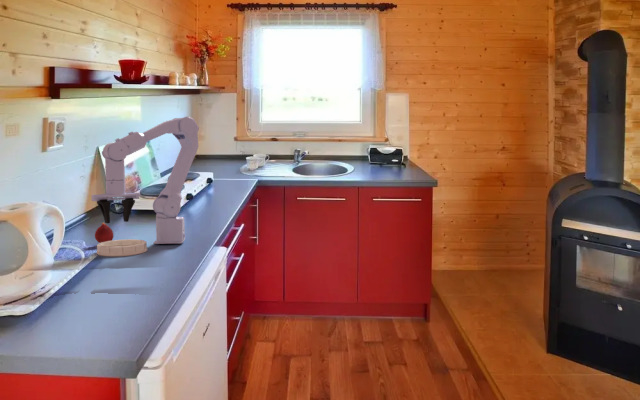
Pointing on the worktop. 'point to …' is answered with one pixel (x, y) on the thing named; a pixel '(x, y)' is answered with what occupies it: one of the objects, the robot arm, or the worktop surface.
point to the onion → (104, 233)
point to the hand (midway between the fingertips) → (116, 222)
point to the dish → (121, 247)
